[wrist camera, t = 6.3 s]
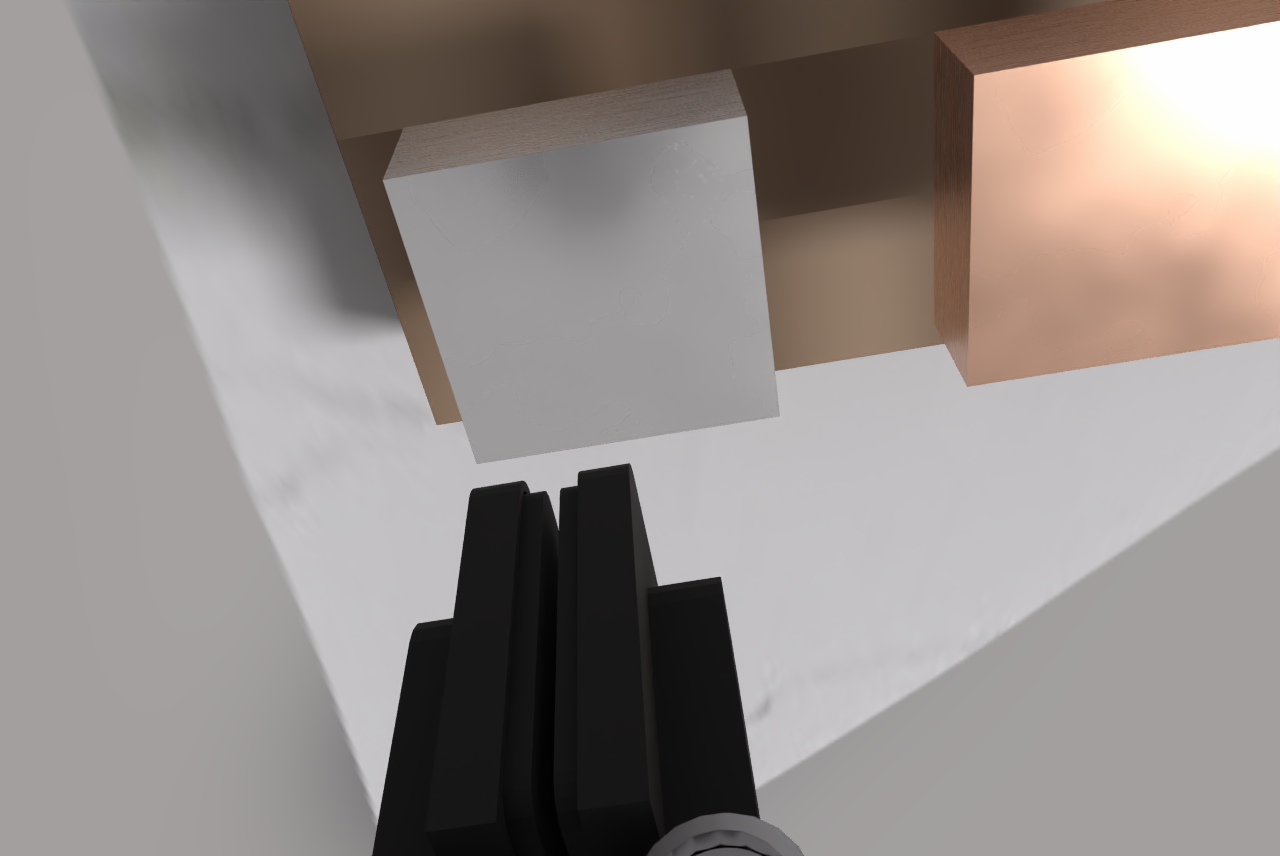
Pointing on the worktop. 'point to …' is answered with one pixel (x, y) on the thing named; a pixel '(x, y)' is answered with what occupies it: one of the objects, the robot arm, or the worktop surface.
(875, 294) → the button panel
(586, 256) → the button
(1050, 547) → the worktop surface
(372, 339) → the worktop surface
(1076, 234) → the middle button
